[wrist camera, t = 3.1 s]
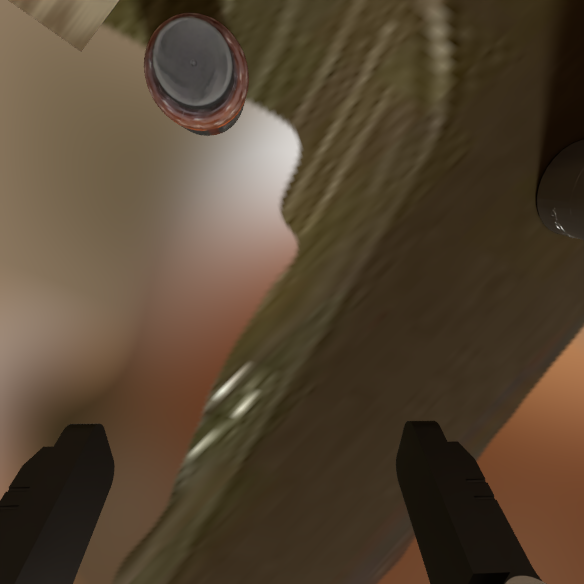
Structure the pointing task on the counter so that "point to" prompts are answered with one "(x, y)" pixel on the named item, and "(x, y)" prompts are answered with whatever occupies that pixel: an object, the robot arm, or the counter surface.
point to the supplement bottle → (197, 73)
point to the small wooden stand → (69, 17)
